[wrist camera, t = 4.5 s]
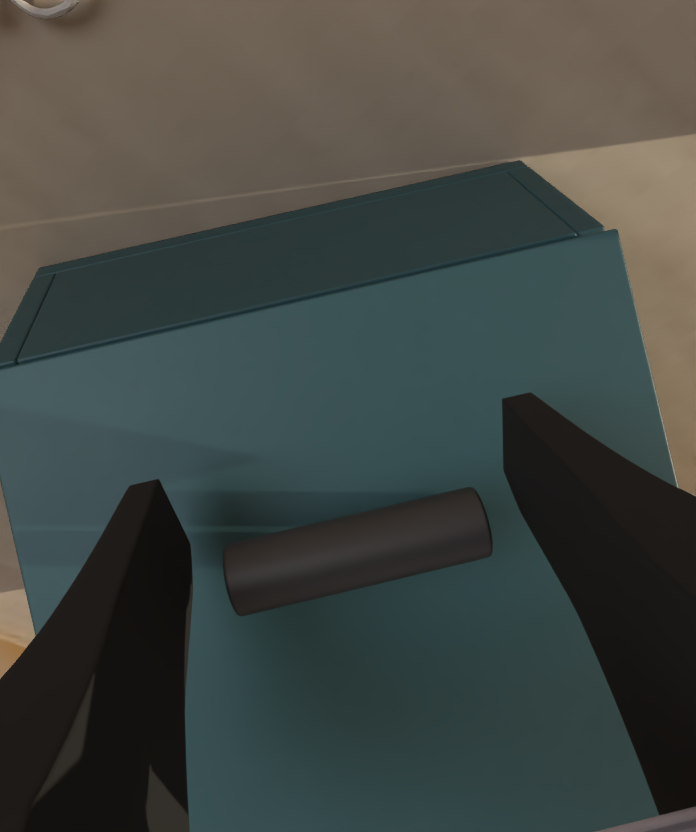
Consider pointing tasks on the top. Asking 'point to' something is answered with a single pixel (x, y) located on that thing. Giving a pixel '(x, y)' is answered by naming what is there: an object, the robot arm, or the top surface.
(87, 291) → the bin
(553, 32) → the top surface
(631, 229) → the top surface
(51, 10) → the headphones
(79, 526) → the bin lid
